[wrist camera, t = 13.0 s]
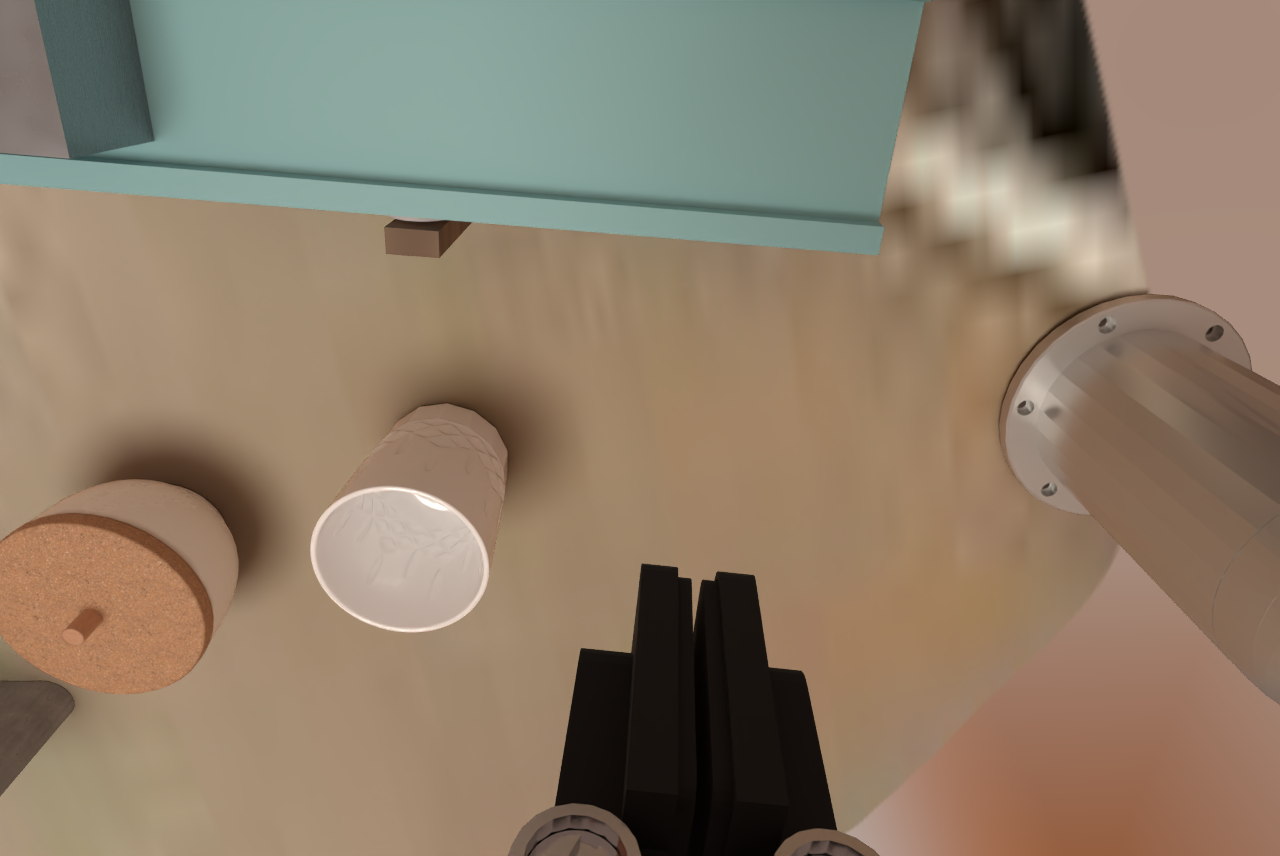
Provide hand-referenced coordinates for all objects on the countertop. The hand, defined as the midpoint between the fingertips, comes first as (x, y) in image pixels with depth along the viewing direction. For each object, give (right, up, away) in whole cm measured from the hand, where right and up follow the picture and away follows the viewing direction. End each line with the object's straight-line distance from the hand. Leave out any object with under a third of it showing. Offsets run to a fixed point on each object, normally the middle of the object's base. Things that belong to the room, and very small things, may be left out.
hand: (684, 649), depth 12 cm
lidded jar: (-28, -3, +35) cm, 44 cm away
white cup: (-11, +2, +33) cm, 35 cm away
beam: (-9, +16, +18) cm, 26 cm away
